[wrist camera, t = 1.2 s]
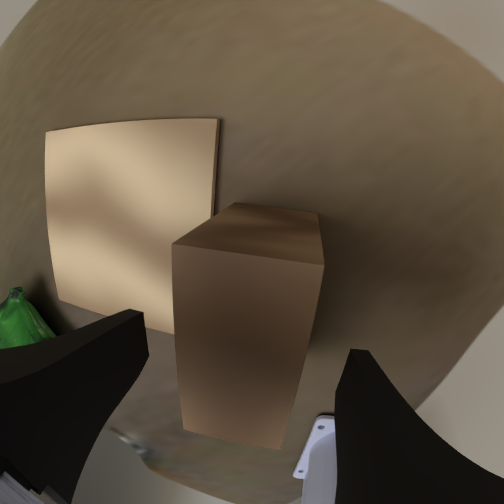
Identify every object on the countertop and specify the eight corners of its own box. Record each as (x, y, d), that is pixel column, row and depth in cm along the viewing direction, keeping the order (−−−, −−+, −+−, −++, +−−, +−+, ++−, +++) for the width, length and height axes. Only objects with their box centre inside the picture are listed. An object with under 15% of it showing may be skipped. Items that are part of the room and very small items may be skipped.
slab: (317, 213, 14) (324, 265, 7) (294, 351, 16) (279, 449, 10) (234, 202, 14) (171, 243, 8) (226, 339, 17) (184, 429, 10)
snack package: (89, 341, 20) (49, 377, 15) (38, 381, 25) (13, 406, 20) (39, 269, 19) (-8, 293, 14) (3, 333, 24) (-25, 353, 19)
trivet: (209, 337, 17) (207, 342, 16) (63, 296, 19) (59, 299, 18) (220, 119, 13) (217, 118, 12) (51, 132, 15) (45, 132, 14)
